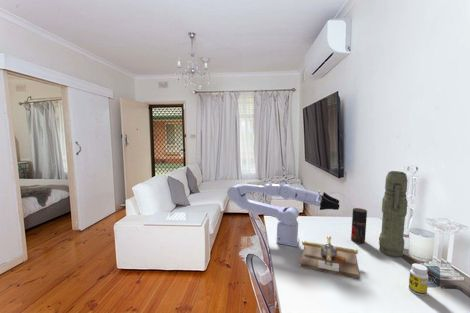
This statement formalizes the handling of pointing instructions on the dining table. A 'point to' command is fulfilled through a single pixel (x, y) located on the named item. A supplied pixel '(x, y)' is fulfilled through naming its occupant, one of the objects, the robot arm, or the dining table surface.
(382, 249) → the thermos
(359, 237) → the deodorant
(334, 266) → the frame
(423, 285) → the supplement bottle
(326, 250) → the capstan
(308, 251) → the stand board
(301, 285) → the dining table surface
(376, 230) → the dining table surface
